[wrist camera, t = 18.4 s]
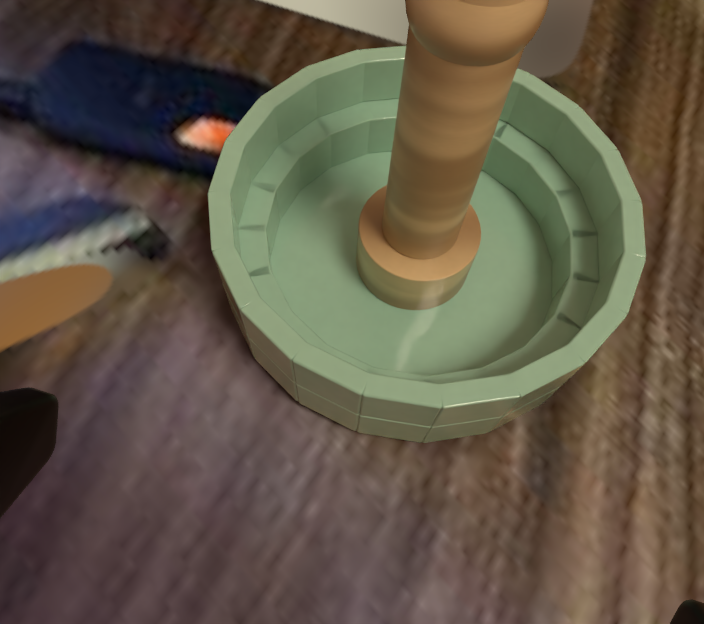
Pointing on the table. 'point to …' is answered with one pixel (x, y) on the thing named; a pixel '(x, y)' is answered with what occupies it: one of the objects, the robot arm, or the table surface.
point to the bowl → (482, 280)
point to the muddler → (441, 147)
